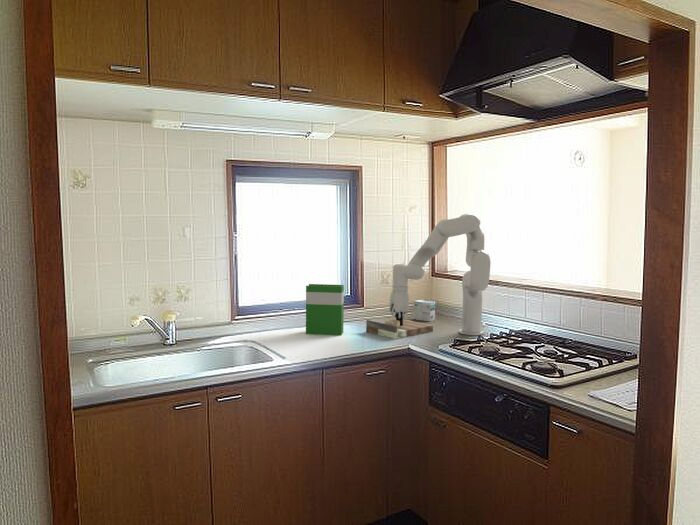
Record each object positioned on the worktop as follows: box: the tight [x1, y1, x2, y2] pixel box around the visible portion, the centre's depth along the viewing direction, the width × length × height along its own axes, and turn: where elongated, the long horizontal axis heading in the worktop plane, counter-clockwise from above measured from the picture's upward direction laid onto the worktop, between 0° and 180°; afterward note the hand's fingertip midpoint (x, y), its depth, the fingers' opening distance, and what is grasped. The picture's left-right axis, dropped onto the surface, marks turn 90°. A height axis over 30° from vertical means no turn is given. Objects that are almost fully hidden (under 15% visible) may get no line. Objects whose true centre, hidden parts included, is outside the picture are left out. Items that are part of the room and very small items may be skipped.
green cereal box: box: [305, 283, 345, 336], centre depth 258 cm, size 18×7×24 cm, turn 83°
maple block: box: [384, 319, 400, 329], centre depth 257 cm, size 5×5×4 cm
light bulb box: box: [413, 299, 436, 322], centre depth 296 cm, size 11×7×11 cm, turn 58°
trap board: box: [365, 318, 434, 340], centre depth 264 cm, size 28×20×6 cm
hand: (399, 325), depth 260 cm, fingers closed
